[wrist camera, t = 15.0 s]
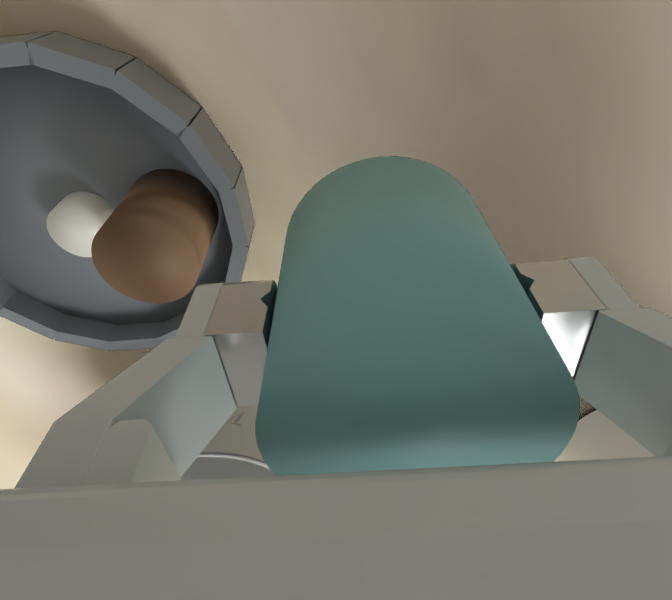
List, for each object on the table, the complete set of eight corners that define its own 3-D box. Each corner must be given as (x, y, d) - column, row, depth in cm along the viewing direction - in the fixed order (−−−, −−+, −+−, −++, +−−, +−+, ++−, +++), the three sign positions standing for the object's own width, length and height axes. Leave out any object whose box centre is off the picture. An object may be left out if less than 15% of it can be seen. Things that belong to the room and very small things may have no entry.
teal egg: (495, 147, 9) (624, 305, 5) (472, 320, 12) (543, 510, 8) (269, 166, 9) (220, 331, 5) (299, 331, 12) (282, 523, 8)
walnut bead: (206, 164, 22) (181, 212, 18) (227, 243, 25) (209, 299, 21) (116, 172, 22) (72, 222, 18) (148, 249, 25) (115, 307, 21)
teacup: (247, 335, 31) (227, 436, 25) (326, 419, 37) (326, 518, 31) (100, 401, 35) (51, 502, 29) (193, 467, 41) (169, 563, 35)
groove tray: (208, 15, 19) (195, 24, 17) (274, 313, 29) (271, 339, 28) (-166, 53, 20) (-220, 66, 18) (27, 331, 30) (7, 358, 28)
